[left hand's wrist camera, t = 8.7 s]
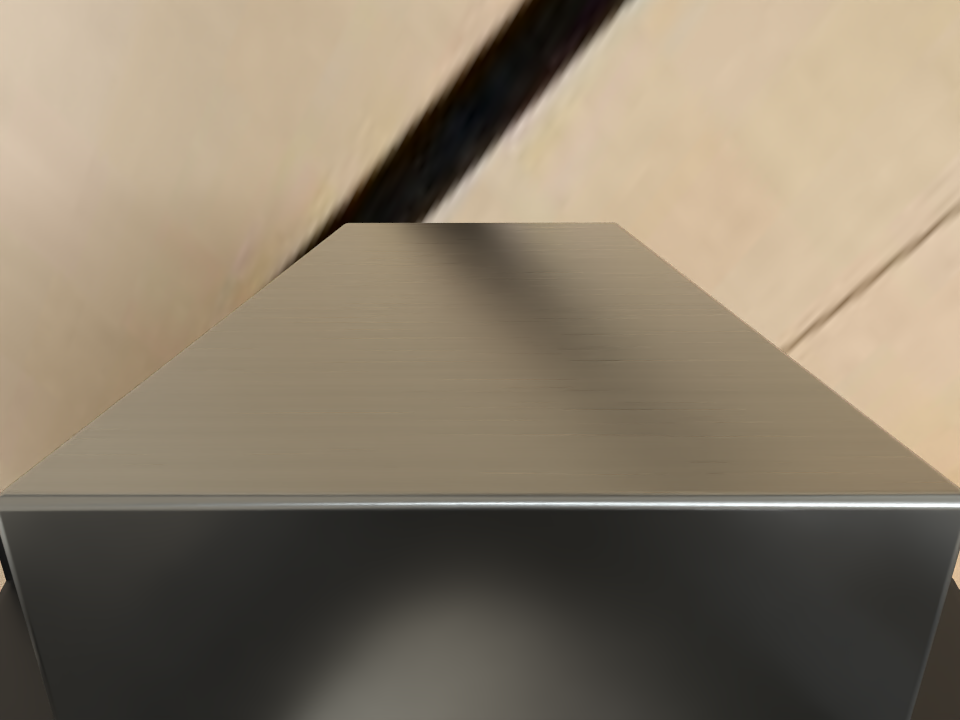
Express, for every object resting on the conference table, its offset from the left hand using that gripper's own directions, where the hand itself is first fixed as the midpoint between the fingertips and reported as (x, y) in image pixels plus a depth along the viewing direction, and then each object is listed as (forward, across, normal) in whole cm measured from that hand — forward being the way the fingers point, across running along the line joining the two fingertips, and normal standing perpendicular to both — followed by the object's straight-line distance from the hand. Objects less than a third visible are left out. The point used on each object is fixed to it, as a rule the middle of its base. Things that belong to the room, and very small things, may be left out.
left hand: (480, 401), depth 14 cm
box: (+2, 0, -7) cm, 7 cm away
